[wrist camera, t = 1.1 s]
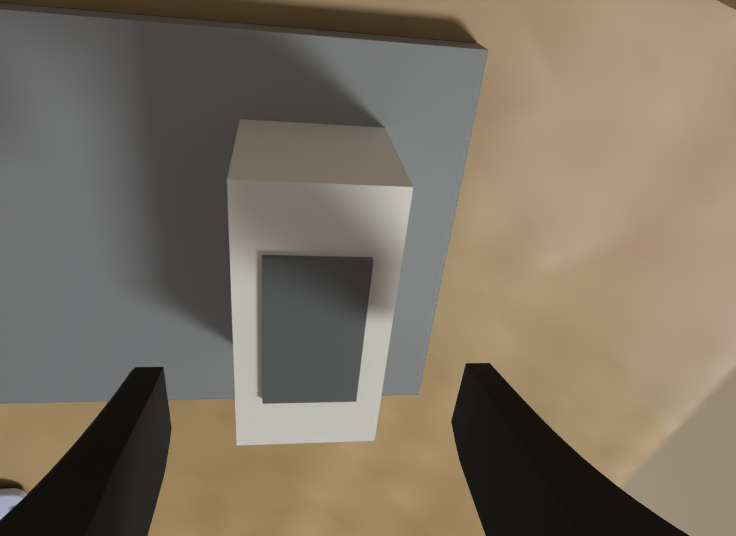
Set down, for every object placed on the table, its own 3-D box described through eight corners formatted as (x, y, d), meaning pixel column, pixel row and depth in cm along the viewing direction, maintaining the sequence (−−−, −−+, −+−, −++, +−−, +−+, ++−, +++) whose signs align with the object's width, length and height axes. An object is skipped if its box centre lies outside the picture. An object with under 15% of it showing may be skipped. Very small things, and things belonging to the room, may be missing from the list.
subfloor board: (413, 378, 25) (418, 394, 24) (-276, 389, 20) (-300, 409, 20) (477, 43, 17) (488, 49, 16) (-580, -47, 13) (-639, -44, 12)
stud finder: (358, 350, 22) (375, 445, 18) (245, 351, 21) (236, 450, 17) (385, 127, 17) (415, 190, 13) (239, 119, 16) (226, 182, 13)
